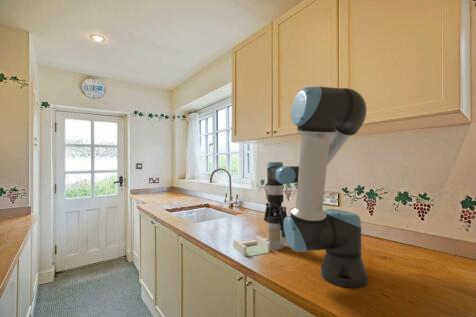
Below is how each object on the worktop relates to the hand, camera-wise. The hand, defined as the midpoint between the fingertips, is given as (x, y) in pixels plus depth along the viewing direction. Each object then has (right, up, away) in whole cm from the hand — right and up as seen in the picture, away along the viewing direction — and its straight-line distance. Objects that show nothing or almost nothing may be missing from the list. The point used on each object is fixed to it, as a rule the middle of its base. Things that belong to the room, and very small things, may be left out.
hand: (276, 239), depth 114 cm
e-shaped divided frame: (-7, -4, 0) cm, 8 cm away
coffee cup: (0, -4, 0) cm, 4 cm away
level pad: (-11, -4, -5) cm, 13 cm away
